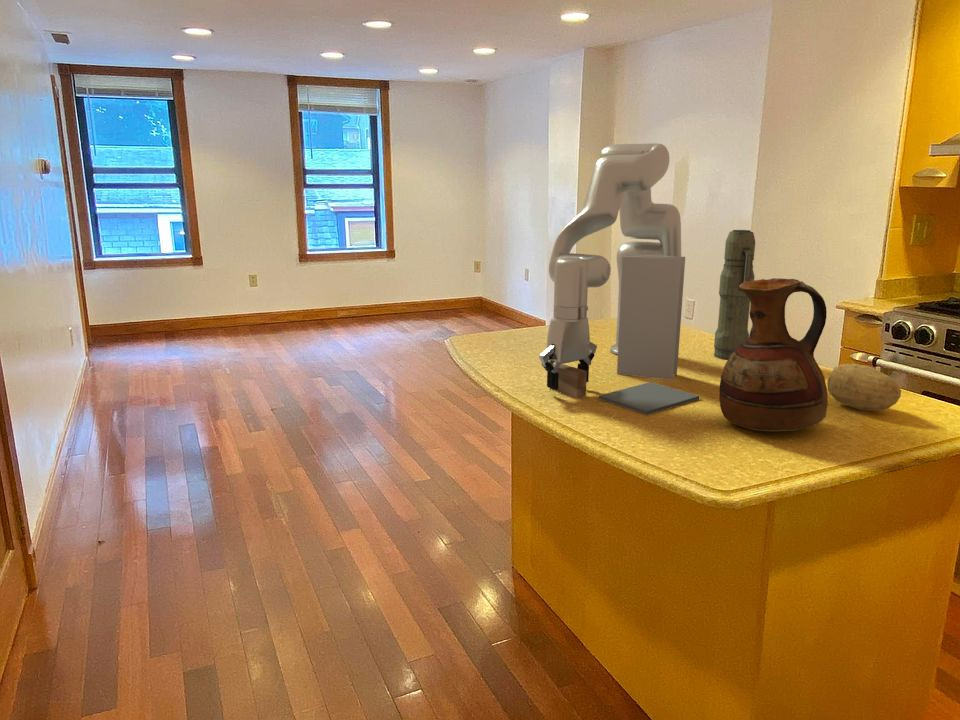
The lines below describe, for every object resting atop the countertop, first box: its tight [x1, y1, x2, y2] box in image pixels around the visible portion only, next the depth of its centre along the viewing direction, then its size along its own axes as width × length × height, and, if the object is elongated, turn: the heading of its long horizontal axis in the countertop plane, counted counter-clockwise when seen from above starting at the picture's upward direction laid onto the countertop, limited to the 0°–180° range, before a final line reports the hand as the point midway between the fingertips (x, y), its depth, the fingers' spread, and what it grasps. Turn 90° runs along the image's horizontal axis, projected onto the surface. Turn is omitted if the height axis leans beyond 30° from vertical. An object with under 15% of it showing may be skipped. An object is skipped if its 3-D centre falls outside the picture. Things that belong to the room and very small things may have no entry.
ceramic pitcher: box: [718, 278, 829, 432], centre depth 137 cm, size 20×20×30 cm
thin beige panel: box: [616, 254, 686, 381], centre depth 173 cm, size 14×6×30 cm, turn 65°
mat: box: [598, 381, 700, 416], centre depth 157 cm, size 18×14×1 cm
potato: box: [826, 363, 902, 412], centre depth 149 cm, size 10×14×10 cm
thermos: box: [713, 229, 756, 361], centre depth 190 cm, size 9×12×35 cm
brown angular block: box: [549, 363, 587, 399], centre depth 162 cm, size 3×9×6 cm, turn 37°
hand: (567, 384), depth 162 cm, fingers open, 9 cm apart
